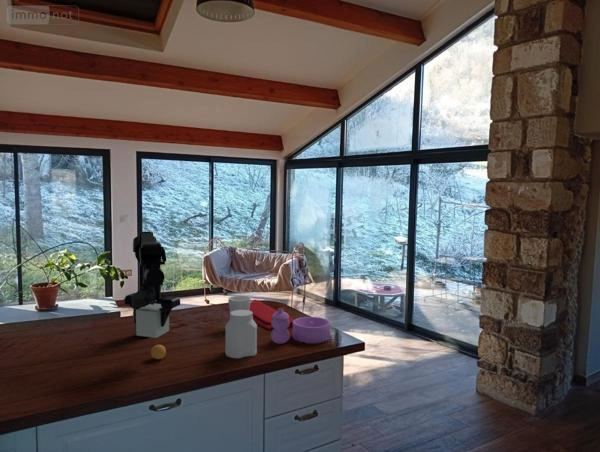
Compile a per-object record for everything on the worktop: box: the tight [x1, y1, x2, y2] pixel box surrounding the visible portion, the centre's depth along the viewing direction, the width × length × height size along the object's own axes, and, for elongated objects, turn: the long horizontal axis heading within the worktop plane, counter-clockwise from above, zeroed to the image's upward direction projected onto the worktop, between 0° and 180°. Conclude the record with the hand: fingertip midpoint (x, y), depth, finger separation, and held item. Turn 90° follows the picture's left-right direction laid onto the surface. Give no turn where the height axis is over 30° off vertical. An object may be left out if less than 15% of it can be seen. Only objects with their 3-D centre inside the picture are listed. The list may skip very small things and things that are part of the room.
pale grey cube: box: [135, 304, 170, 339], centre depth 156 cm, size 8×8×9 cm
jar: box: [224, 310, 258, 359], centre depth 166 cm, size 12×10×15 cm
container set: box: [270, 308, 331, 345], centre depth 183 cm, size 25×15×13 cm, turn 115°
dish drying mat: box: [249, 299, 296, 332], centre depth 214 cm, size 16×41×4 cm, turn 32°
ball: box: [150, 344, 167, 360], centre depth 159 cm, size 5×5×5 cm
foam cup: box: [227, 295, 252, 313], centre depth 195 cm, size 10×9×13 cm
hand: (152, 325), depth 155 cm, fingers closed on pale grey cube, 8 cm apart
